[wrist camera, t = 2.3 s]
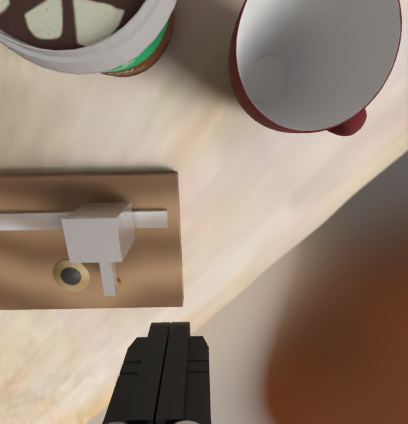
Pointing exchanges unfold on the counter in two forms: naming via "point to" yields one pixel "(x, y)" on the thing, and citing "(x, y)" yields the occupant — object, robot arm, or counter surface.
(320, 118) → the mug
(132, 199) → the hole board
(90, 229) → the leg
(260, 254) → the counter surface
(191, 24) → the counter surface
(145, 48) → the food container
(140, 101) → the counter surface
